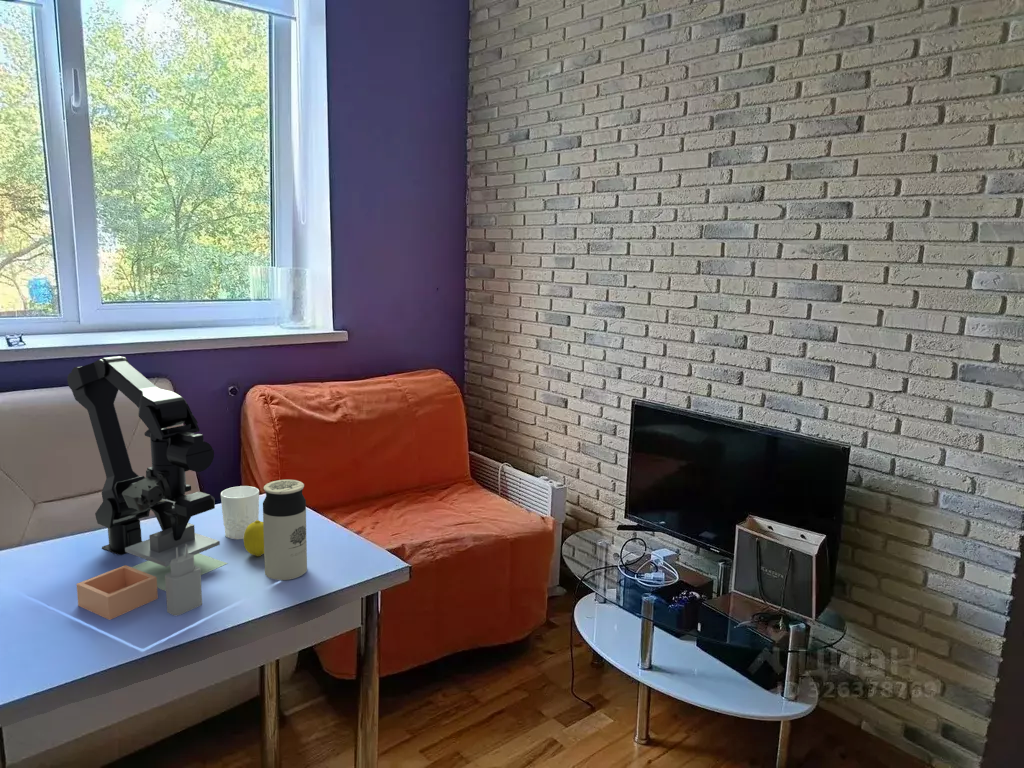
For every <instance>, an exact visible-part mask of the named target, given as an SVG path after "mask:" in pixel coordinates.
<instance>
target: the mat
mask: <svg viewBox="0 0 1024 768" xmlns="http://www.w3.org/2000/svg"><path fill="white" fill-rule="evenodd" d="M228 564H229V563H228V562H225V561H222V560H220V559H217V558H214V557H210V556H208V555H206V554H202V553H198V554H196V555H194V565H195V566H197V567H200V571H201V576H202V575H205V574H207V573H209V572H212V571H214V570H216V569H218V568H221V567H223V566H225V565H228ZM131 567H132V568H134V569H137V570H139V571H142V572H145V573H147V574H150V575H152V576H155V577H157V589H159V590H162V591H164V592H166V582H165V575H166V574H167V573H170V572H171V565H169V566H166V567H165V566H162V565H160V564H157V563H154V562H151V561H149V560H146V561H143V562H140V563H139V564H136V565H133V566H131Z"/></svg>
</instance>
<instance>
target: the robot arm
mask: <svg viewBox="0 0 1024 768" xmlns="http://www.w3.org/2000/svg"><path fill="white" fill-rule="evenodd" d="M66 381H67V385H68V387H69V389H70V390H71V392H72V395H73V397H74V400H75V401H77V403H79V405H81V406H82V407H83V408H84V409H85V410H87V412H88V417H89V421H90V423H91V427H92V431H93V434H94V438H95V440H96V441H95V442H96V445H97V449H98V452H99V455H100V459H101V463H102V467H103V470H104V473H105V477H106V479H105V482H104V485H103V487H102V490H101V497H102V502H101V504H100V506H99V507H98V508H97V509H96V511H95V514H94V515H95V519H96V523H97V524H98V525H101V526H102V527H105V528H107V536H108V538H107V539H108V544H107V545H103V546H101V550H104V551H107V552H110V553H113V554H116V555H118V556H124V555H126V554H128V553H127V552H125V548H126V547H129V546H132V545H134V544H137V543H140V542H143V541H144V540H142V537H143V536H142V528H141V520H140V519H143V518H148V517H150V513H151V511H152V512H153V514H154V516H155V517H156V519H157V522H158V524H159V526H160V529H161V531H162V530H165V529H168V528H171V527H172V531H173V536H174V540H175V541H177V540H180V539H181V537H182V535H183V533H184V530H185V528H186V526H187V524H188V523H190V520H191V518H192V517H194V516H197V515H200V514H202V513H206V512H209V511H211V510H213V509H215V508H216V506H215V505H216V504H215V503H216V502H215V497H214V496H213V495H211V494H209V493H206V492H202V491H196V492H193V493H189V494H186V493H187V492H190V491H192V485H190V484H187V479H186V476H187V475H186V472H189V471H191V472H195V473H202V472H204V471H205V470H207V469H208V468H209V467H210V466H211V465H212V463H213V461H214V458H215V451H214V449H213V446H212V445H211V444H210V442H208V441H205V440H204V435H203V433H202V434H201V433H199V432H200V427H199V425H198V423H199V422H198V420H197V419H196V417H195V415H194V413H193V412H192V411H191V408H190V406H189V404H188V403H187V401H186V399H185V398H184V397H183V396H181V395H179V394H178V393H176V392H174V391H172V390H167V389H163V388H159V387H158V386H156V385H155V384H154V383H153V382H151V381H150V380H149V379H148V378H146V377H145V375H143V374H142V373H141V372H140V371H138V370H137V369H136V367H134V366H132V365H131V364H130V362H129V361H128V359H127V358H126V356H120V355H118V356H109V357H108V356H107V357H101V358H100V359H97V360H96V361H94V362H92V363H89V364H84V365H81V366H76V367H75V366H74V367H73V368H72V369H71V372H69V373H68V375H67V380H66ZM118 392H121V393H122V394H123V395H124V396H125V397H126V398H127V399H128V400H130V401H131V402H132V403H133V404H134V405H135V406H136V407H137V408H138V417H139V418H140V420H141V421H142V422H143V424H144V425H145V426H146V428H147V430H146V431H145V432H144V436H145V437H147V438H150V440H149V441H150V455H151V466H149V467H147V468H146V470H145V476H144V475H141V476H140V475H139V474H137V473H136V472H135V471H134V470H133V467H132V463H131V460H130V457H129V453H128V449H127V446H126V442H125V438H124V434H123V431H122V428H121V425H120V421H119V418H118V415H117V414H118V413H117V410H116V407H115V401H116V398H117V396H118Z"/></svg>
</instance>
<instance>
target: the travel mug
mask: <svg viewBox="0 0 1024 768" xmlns="http://www.w3.org/2000/svg"><path fill="white" fill-rule="evenodd" d="M304 487H305V483H303V482H302V481H299V480H297V479H279V480H274V481H270V482H268V483H266V484H265V485H264V486H263V490H264V492H265V498H264V500H263V501H262V522H263V527H264V554H263V555H264V558H263V559H264V575H265V576H266V577H267V578H268V579H271V580H278V581H288V580H295V579H297V578H299V577H301V576H303V575H304V574H306V573H307V571H308V552H307V551H308V549H307V545H308V544H307V543H308V541H307V539H308V538H307V503H306V502H307V499H306V498H305V496H304V495H303V489H304Z"/></svg>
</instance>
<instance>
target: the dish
mask: <svg viewBox="0 0 1024 768" xmlns="http://www.w3.org/2000/svg"><path fill="white" fill-rule="evenodd" d="M132 567H133V566H129V565H125V564H124V565H123V566H120V567H119V566H118V567H117V568H115V569H111V570H108V571H106V572H104V573H101V574H99V575H96V576H93V577H90V578H89V579H85V580H82V581H81V582H77V583H76V584H75V585H76V593H77V594H76V595H77V606H78V607H80V608H82V609H84V610H87V611H89V612H91V613H92V614H93V613H94V614H95V615H96V616H100V617H102V618H104V619H107V620H109V621H110V620H113V619H115V618H117V617H119V616H122V615H124V614H126V613H129V612H130V611H133V610H136V609H137V608H141V607H142V606H144V605H147V604H148V603H151V602H153V601H156V600H158V599H159V596H158V588H157V577H155V576H152V575H150V574H147V573H145V572H142V571H139V570H137V569H134V568H132Z"/></svg>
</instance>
